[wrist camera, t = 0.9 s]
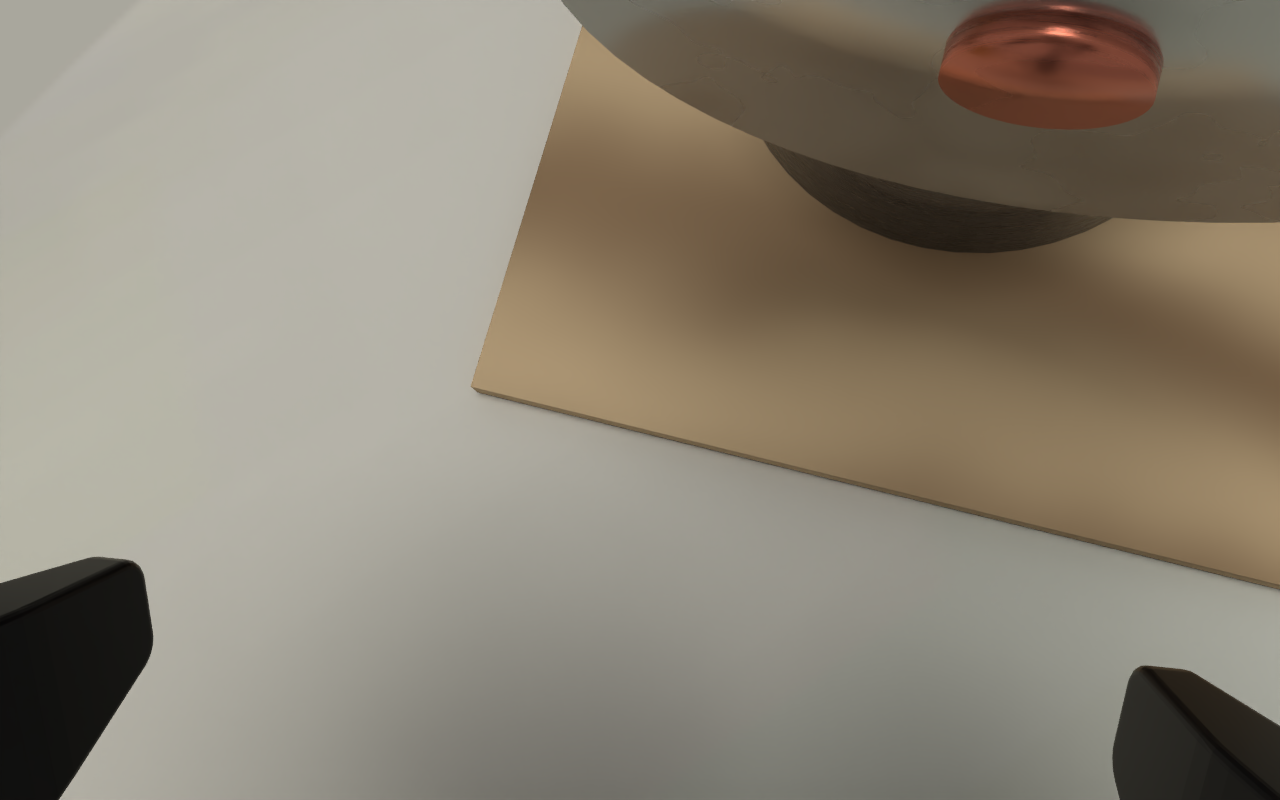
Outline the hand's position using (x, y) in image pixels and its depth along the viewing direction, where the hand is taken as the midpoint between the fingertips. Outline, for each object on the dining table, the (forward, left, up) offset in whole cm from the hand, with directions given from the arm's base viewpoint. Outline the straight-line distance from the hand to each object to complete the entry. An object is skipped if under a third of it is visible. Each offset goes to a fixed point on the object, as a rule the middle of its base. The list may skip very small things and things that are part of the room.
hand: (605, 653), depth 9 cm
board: (+12, -12, -15) cm, 22 cm away
